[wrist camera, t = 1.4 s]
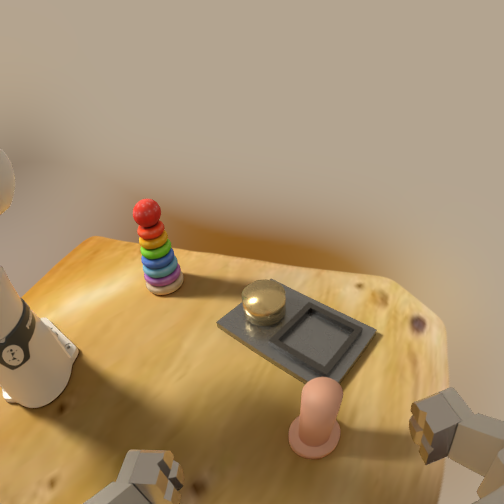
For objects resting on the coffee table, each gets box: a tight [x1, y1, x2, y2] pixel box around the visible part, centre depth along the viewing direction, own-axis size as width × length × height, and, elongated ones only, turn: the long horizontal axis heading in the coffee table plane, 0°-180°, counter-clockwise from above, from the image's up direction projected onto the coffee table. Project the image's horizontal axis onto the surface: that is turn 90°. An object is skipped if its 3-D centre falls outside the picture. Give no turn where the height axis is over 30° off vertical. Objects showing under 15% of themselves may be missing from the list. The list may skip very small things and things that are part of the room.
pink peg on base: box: [289, 377, 343, 459], centre depth 31 cm, size 6×6×12 cm
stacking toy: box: [133, 199, 184, 295], centre depth 57 cm, size 8×8×19 cm
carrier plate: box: [217, 279, 377, 384], centre depth 48 cm, size 22×14×5 cm, turn 47°
